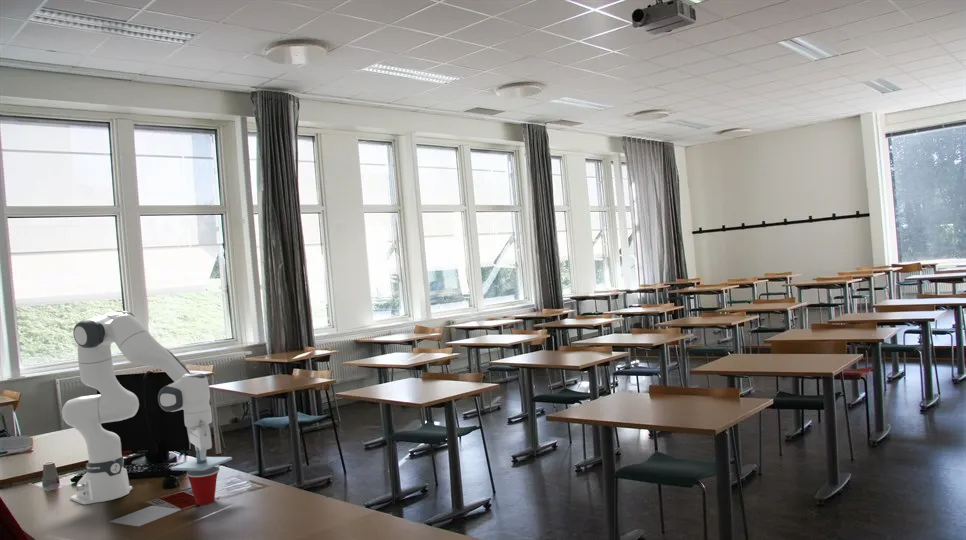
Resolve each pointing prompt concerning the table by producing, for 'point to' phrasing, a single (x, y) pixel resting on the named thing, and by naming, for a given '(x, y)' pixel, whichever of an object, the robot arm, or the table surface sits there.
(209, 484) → the plastic cup
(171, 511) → the grey flat square plate
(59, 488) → the table surface
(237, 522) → the table surface
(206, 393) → the robot arm
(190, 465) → the lid
